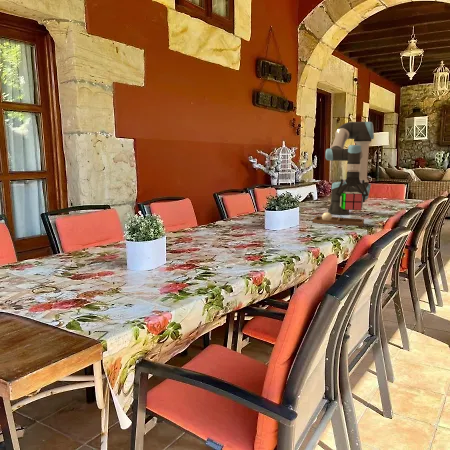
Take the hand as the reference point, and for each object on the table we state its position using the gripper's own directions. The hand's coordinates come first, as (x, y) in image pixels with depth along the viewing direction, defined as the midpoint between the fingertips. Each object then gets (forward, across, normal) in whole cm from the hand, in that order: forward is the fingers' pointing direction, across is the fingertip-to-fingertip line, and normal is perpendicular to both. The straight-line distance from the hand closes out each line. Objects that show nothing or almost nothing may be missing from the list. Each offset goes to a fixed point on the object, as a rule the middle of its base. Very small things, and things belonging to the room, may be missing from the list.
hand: (351, 206), depth 260 cm
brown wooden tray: (+11, -7, 0) cm, 13 cm away
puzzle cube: (+2, 0, 0) cm, 2 cm away
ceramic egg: (+10, -14, 0) cm, 18 cm away
